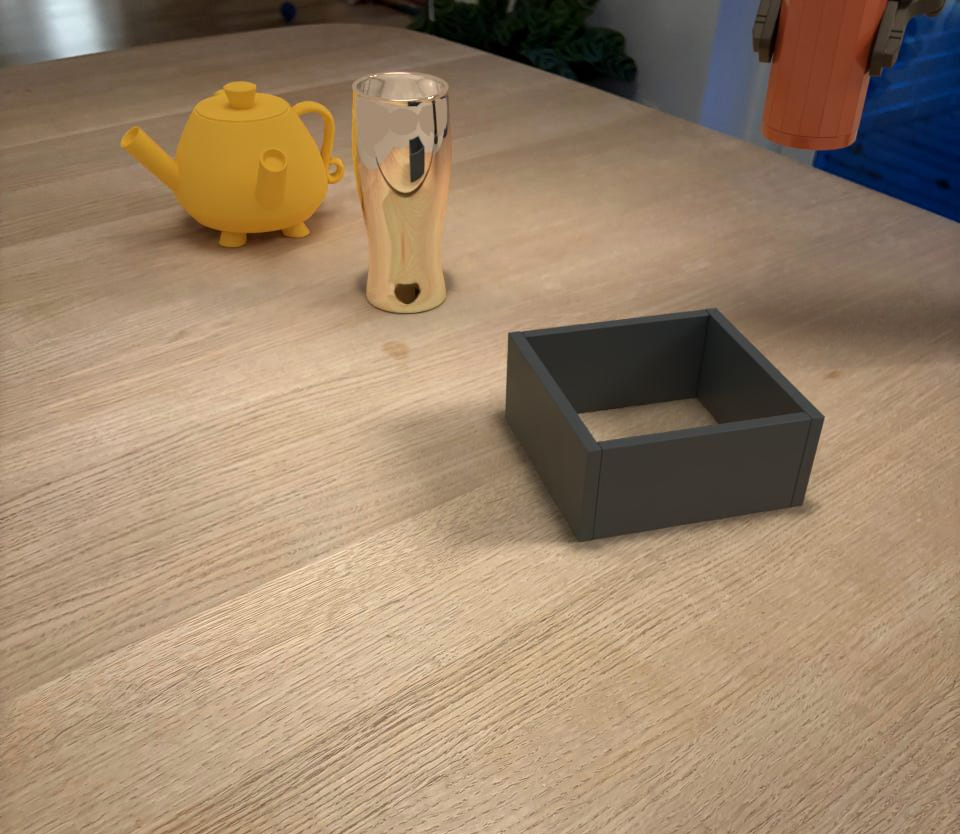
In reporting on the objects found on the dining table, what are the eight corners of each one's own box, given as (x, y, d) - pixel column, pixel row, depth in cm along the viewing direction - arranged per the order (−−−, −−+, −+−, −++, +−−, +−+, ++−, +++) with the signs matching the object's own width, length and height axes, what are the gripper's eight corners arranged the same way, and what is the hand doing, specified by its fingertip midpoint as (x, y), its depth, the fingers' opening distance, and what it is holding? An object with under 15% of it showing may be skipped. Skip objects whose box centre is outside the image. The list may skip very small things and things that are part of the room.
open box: (700, 403, 74) (716, 307, 70) (799, 520, 65) (825, 416, 60) (504, 431, 71) (507, 332, 67) (577, 557, 62) (587, 451, 57)
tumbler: (835, 118, 77) (870, -50, 71) (870, 148, 73) (911, -28, 66) (748, 121, 77) (775, -48, 70) (778, 152, 72) (810, -26, 65)
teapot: (133, 243, 92) (106, 98, 85) (219, 187, 102) (201, 53, 94) (289, 273, 89) (275, 125, 81) (363, 213, 98) (357, 75, 91)
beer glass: (374, 272, 89) (365, 66, 79) (460, 281, 88) (461, 74, 78) (349, 311, 84) (335, 96, 74) (440, 321, 83) (438, 104, 73)
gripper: (777, -246, 69) (702, 12, 69) (1024, -235, 65) (947, 39, 65) (777, -152, 76) (710, 82, 76) (1000, -137, 72) (930, 110, 72)
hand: (819, 61), depth 70 cm, fingers closed on tumbler, 6 cm apart
